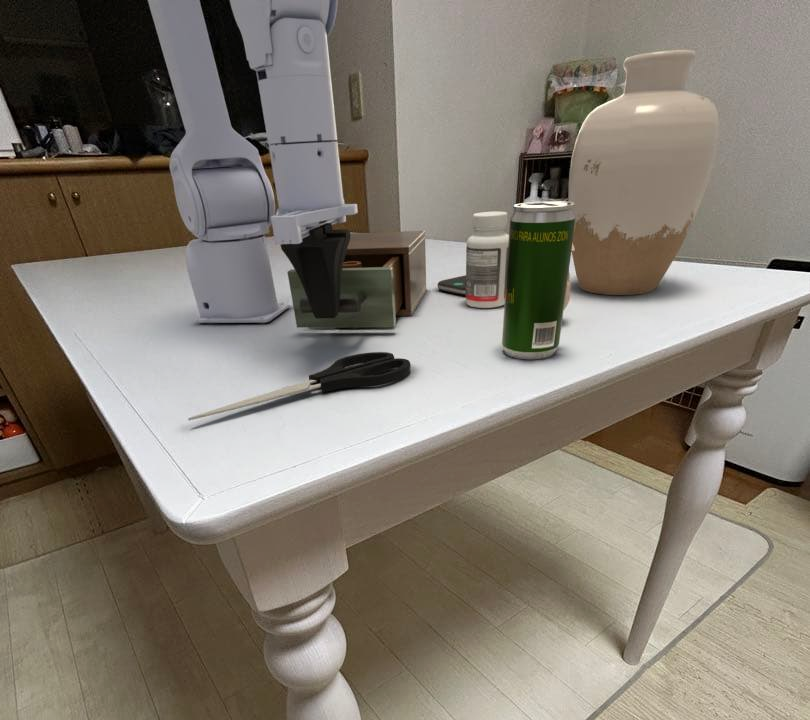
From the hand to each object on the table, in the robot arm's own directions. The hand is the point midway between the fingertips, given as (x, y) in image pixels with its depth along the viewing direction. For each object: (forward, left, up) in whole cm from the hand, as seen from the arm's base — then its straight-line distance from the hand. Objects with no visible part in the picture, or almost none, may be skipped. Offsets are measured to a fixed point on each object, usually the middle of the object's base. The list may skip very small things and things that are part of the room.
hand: (326, 316), depth 51 cm
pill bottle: (+15, +19, -4) cm, 25 cm away
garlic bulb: (+21, +10, -4) cm, 24 cm away
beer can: (+20, 0, -4) cm, 20 cm away
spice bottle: (0, +10, -2) cm, 11 cm away
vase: (+32, +27, -4) cm, 42 cm away
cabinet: (0, +20, -3) cm, 20 cm away
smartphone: (+15, +30, -3) cm, 34 cm away
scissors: (+1, -11, -3) cm, 12 cm away
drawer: (0, +9, -3) cm, 10 cm away
